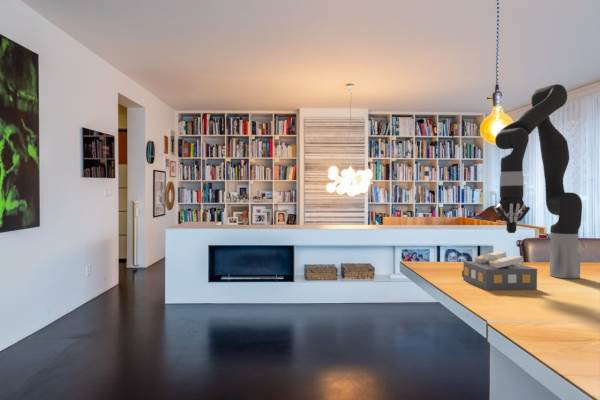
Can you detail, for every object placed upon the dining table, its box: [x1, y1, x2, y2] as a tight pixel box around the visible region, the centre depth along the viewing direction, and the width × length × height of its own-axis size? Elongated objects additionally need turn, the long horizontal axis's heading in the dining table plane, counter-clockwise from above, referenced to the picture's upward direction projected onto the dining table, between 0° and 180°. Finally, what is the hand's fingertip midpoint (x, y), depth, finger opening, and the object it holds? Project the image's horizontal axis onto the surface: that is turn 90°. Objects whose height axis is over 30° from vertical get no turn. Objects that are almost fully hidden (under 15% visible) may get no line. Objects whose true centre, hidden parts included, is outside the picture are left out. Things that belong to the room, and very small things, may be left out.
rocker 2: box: [489, 254, 525, 269], centre depth 139 cm, size 10×4×2 cm, turn 94°
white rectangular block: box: [474, 250, 508, 264], centre depth 149 cm, size 10×4×2 cm, turn 94°
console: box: [462, 260, 538, 291], centre depth 144 cm, size 18×16×8 cm
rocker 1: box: [482, 252, 515, 266], centre depth 144 cm, size 10×4×2 cm, turn 94°
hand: (511, 232), depth 144 cm, fingers closed
